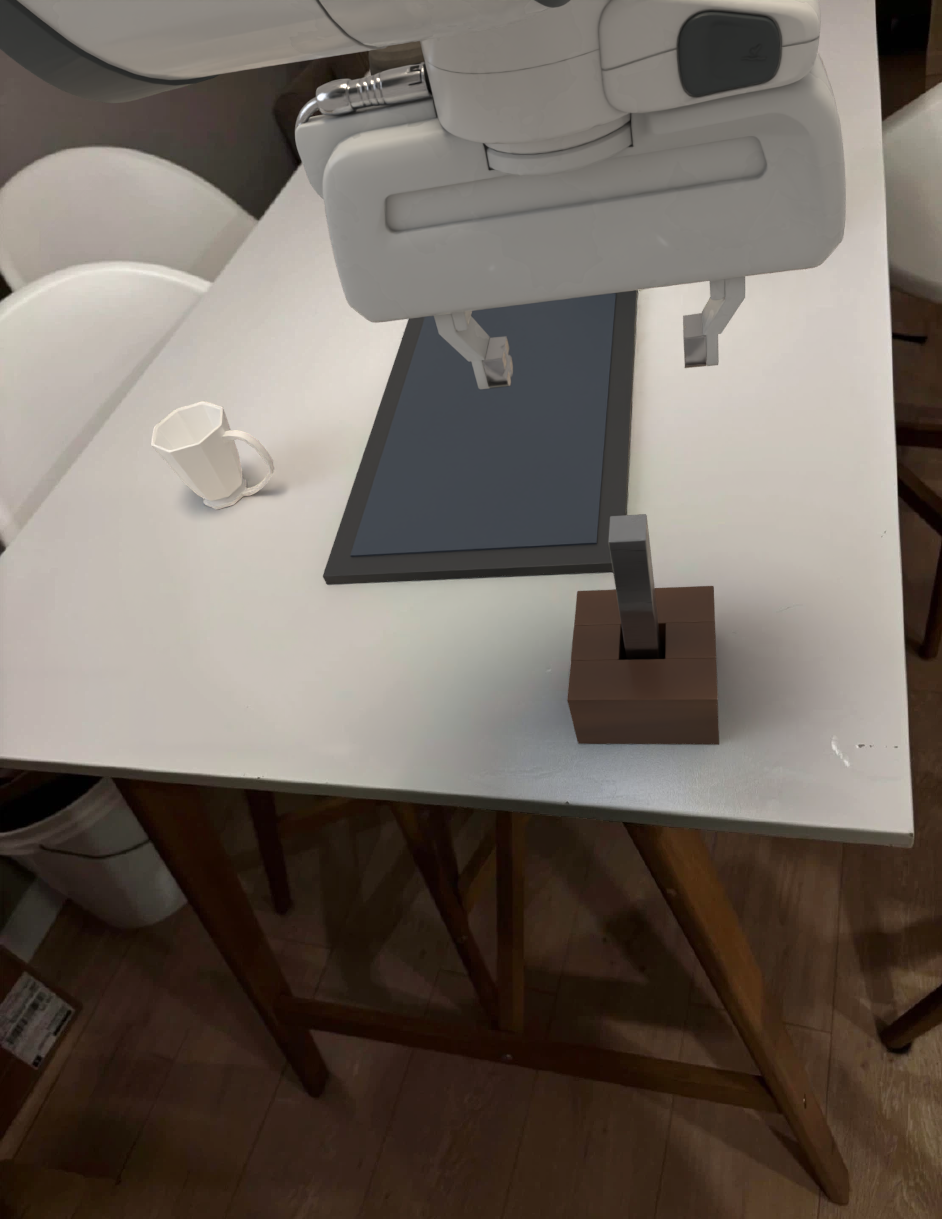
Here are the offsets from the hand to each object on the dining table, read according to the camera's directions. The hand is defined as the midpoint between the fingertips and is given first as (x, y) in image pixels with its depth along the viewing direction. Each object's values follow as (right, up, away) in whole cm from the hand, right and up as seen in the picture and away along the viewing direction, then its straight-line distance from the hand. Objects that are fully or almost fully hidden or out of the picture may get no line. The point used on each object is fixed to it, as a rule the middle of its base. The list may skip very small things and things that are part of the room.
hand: (596, 370), depth 41 cm
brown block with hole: (+6, -16, +18) cm, 25 cm away
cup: (-27, 0, +42) cm, 50 cm away
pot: (-8, +55, +85) cm, 101 cm away
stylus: (+6, -16, +18) cm, 25 cm away
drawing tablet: (-3, +7, +41) cm, 41 cm away
